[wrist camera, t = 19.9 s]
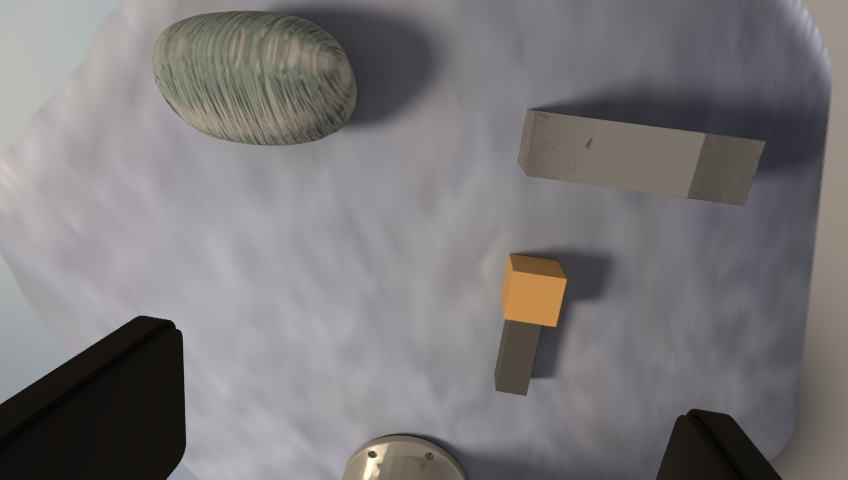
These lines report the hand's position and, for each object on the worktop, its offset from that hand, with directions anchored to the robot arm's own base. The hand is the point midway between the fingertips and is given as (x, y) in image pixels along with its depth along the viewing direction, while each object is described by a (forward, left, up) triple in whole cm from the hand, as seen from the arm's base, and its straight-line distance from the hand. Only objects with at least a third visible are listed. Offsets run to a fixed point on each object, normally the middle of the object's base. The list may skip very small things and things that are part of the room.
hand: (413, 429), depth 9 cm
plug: (-8, -10, -30) cm, 33 cm away
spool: (0, +16, -31) cm, 35 cm away
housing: (+7, -9, -30) cm, 33 cm away
